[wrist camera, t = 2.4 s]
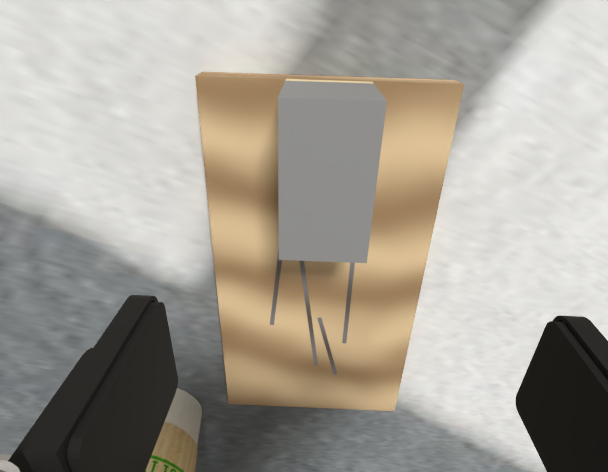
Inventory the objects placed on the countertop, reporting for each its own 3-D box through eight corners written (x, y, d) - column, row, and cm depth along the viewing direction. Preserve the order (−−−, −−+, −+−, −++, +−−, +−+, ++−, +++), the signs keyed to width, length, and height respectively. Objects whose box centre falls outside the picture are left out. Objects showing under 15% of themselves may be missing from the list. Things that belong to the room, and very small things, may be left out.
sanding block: (285, 78, 21) (277, 97, 16) (372, 81, 21) (387, 101, 16) (285, 215, 25) (278, 259, 20) (358, 218, 25) (366, 263, 20)
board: (202, 71, 22) (195, 75, 21) (455, 80, 22) (464, 84, 21) (231, 389, 35) (228, 404, 34) (391, 395, 35) (394, 411, 34)
